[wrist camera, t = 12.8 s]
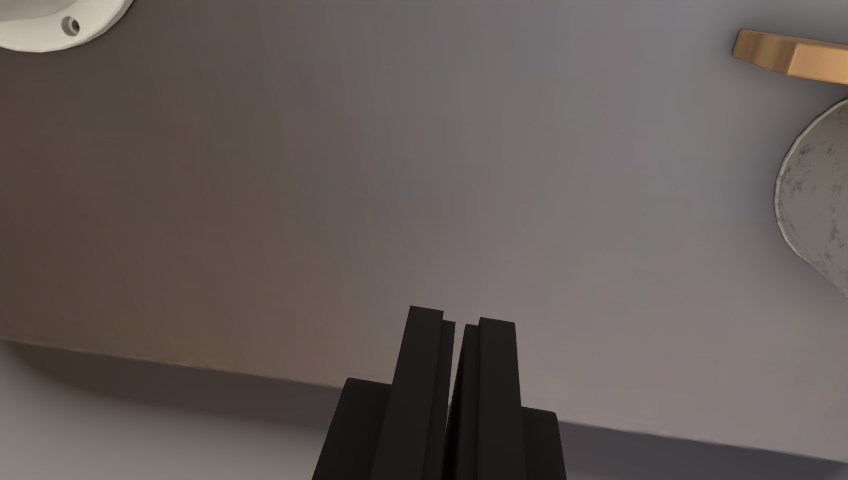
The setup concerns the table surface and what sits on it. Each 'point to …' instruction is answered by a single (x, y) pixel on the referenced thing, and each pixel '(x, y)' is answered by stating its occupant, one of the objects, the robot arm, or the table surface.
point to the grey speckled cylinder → (818, 195)
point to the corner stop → (794, 55)
